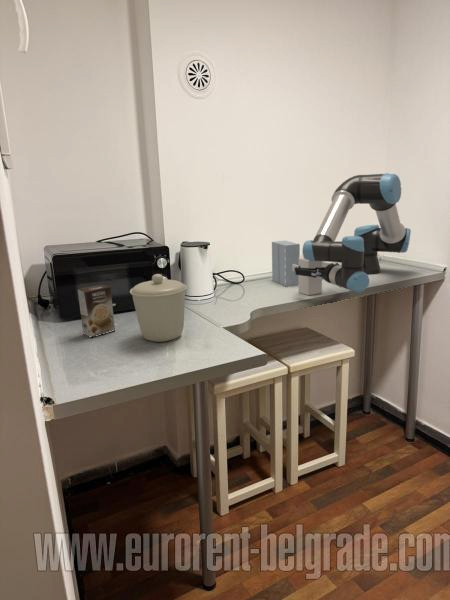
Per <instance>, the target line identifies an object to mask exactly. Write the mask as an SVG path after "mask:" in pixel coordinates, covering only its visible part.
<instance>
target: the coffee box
mask: <svg viewBox="0 0 450 600" xmlns="http://www.w3.org/2000/svg"><path fill="white" fill-rule="evenodd" d="M77 294H78V303H79V310H80V311H79V312H80V318H81V326H82V328H81V329H82V333H83V332H84V333H85V334H87V335H88V336H91V337H92V336H96V335H99V334H103V333H106V332H109V331H112V330H115V331H116V326H115V318H114V309H113V299H112V290H111V286H110V285H109V286H108V285H107V284H99V285H98V284H97V285H92V286H87V287H82V288H77ZM88 336H87V337H88Z"/></svg>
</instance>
